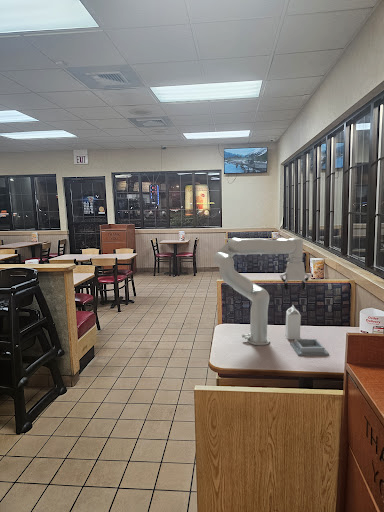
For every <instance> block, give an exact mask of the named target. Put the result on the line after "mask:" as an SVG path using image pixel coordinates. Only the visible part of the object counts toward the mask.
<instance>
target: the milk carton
mask: <svg viewBox="0 0 384 512" xmlns="http://www.w3.org/2000/svg"><path fill="white" fill-rule="evenodd" d="M301 317H302V315H301V314H300V311H299V310H298V309H296V307H295V306H294V304H292V306H291V307H289V308H287V310H286V313H285V337H286V339H287V340H293V341H295V339H301V323H302V322H301V320H302V319H301Z"/></svg>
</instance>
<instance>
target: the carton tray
mask: <svg viewBox="0 0 384 512" xmlns="http://www.w3.org/2000/svg"><path fill="white" fill-rule="evenodd" d="M289 345H290V346H291V348H292V349H293V351H295V353H296V354H297V356H298V357H300V356H301V357H303V356H305V357H306V356H307V357H309V356H310V357H311V356H312V357H313V356H330V353H329V352H328V350H327V349H326V348H325V347H324V345H322V343H321V342H320V341H319V340H318V339H317V338H300V339H295V340H294V341H293V342H290V344H289Z"/></svg>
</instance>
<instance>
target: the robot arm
mask: <svg viewBox="0 0 384 512" xmlns="http://www.w3.org/2000/svg"><path fill="white" fill-rule="evenodd" d="M303 251H304V240H303V238H299V237H291V238H286V237H279V238H277V239H274V240H273V239H268V238H258V237H257V238H238V237H233V238H230V239H229V240H228V241H227V242H226V243H224V245H223V246H222V247H220V249H218V251H216V252H215V254H214V255H213V263H214V265H215V266H217V267H218V268H219V276H220V279H221V280H222V281H223V282H224V283H225V284H227V285H228V286H230V288H232V289H233V290H234V291H235V292H237V293H239V294H240V295H242V296H244V298H246V299H248V300H250V301H251V306H250V315H249V316H250V319H249V320H250V322H249V323H250V328H249V329H250V331H249V332H248V333H246V334H245V333H242V334H241V338H243V339H245V340H247V341H246V342H247V343H249V344H250V345H253V346H267V345H269V344H270V341H271V340H270V338H269V337H268V314H269V313H268V312H269V311H268V310H269V302H270V294H269V292H268V291H267V290H266V289H265V288H264V287H262V286H260V285H258V284H257V283H255V282H253V281H252V280H251V279H249V278H248V277H246V276H245V275H242V274H241V273H239V271H237V270H236V269H235V266H234V265H235V261H234V258H233V257H234V256H235V255H240V256H241V255H286V254H288V257H286V258H285V260H286V261H287V263H286V267H285V272H283V273H281V274H279V277H280V280H281V281H282V282H283V288H284V290H286V291H287V290H289V289H288V282H289V281H301V286H300V287H301V289H302V290H305V289H306V283H307V281H309V279H310V277H311V274H309V273H307V272H306V269H305V262H303V255H304V253H303ZM284 276H285V278H284Z"/></svg>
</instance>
